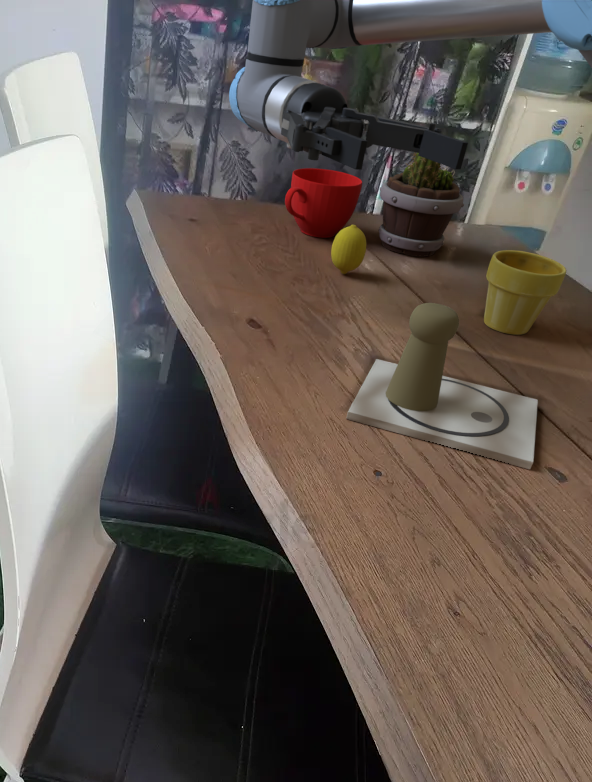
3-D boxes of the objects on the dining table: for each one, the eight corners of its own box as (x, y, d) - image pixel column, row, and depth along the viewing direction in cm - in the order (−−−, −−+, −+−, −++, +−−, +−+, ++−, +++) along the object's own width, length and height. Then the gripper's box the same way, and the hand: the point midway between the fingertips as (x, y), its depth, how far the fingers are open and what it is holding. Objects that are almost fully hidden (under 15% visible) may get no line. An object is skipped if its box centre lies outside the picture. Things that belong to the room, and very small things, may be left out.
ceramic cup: (255, 229, 138) (263, 172, 132) (313, 219, 148) (323, 165, 142) (307, 250, 131) (317, 191, 125) (364, 237, 141) (376, 182, 135)
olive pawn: (427, 416, 82) (457, 323, 76) (377, 398, 84) (402, 306, 78) (444, 397, 86) (474, 307, 80) (396, 381, 89) (421, 292, 82)
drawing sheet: (535, 406, 90) (538, 398, 89) (530, 470, 77) (534, 460, 77) (374, 365, 94) (376, 357, 94) (346, 419, 82) (348, 410, 81)
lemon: (323, 275, 121) (333, 225, 116) (331, 266, 125) (341, 217, 121) (356, 282, 120) (367, 232, 115) (363, 273, 124) (374, 224, 119)
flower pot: (547, 345, 106) (574, 278, 100) (475, 333, 107) (498, 266, 101) (534, 319, 114) (558, 256, 109) (467, 308, 115) (488, 245, 109)
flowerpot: (381, 231, 146) (408, 119, 134) (457, 249, 141) (491, 135, 129) (356, 247, 136) (382, 127, 124) (436, 268, 131) (471, 144, 119)
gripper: (379, 149, 100) (488, 191, 85) (216, 147, 90) (308, 194, 75) (393, 86, 95) (511, 119, 81) (223, 76, 85) (322, 112, 71)
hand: (413, 155), depth 78 cm, fingers open, 13 cm apart
